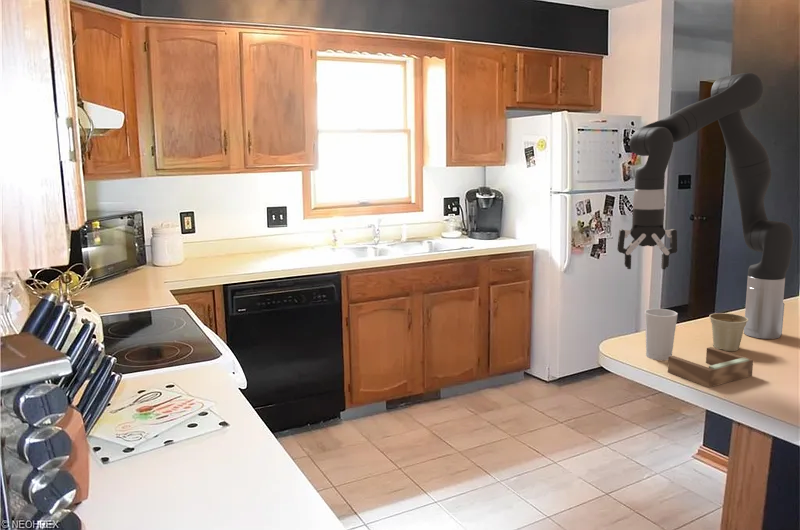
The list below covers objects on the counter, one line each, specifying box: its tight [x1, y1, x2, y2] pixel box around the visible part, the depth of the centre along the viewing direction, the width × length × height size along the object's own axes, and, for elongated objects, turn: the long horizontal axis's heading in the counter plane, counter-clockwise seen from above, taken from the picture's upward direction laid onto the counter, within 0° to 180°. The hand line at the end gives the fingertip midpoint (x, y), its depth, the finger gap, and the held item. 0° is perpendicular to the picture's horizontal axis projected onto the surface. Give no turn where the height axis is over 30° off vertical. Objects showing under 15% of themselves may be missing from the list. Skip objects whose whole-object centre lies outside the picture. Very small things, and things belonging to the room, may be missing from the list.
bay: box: [667, 346, 754, 388], centre depth 148 cm, size 15×12×4 cm
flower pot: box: [708, 312, 748, 352], centre depth 167 cm, size 9×9×9 cm
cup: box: [644, 308, 679, 361], centre depth 161 cm, size 8×8×12 cm
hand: (646, 268), depth 160 cm, fingers open, 8 cm apart
